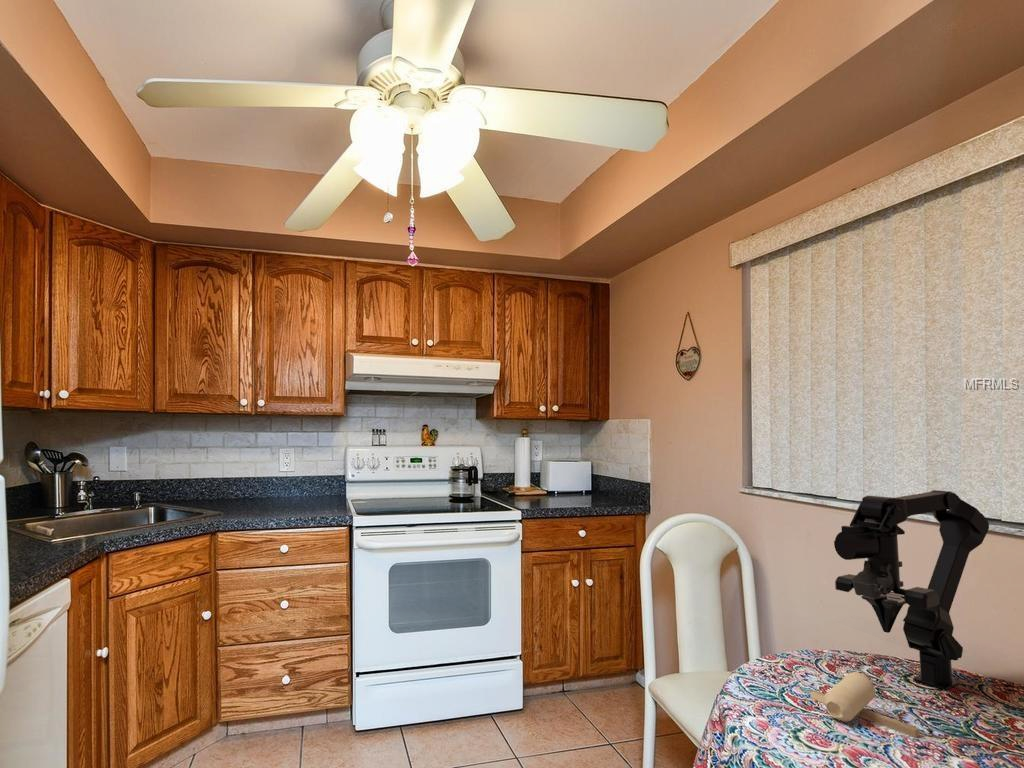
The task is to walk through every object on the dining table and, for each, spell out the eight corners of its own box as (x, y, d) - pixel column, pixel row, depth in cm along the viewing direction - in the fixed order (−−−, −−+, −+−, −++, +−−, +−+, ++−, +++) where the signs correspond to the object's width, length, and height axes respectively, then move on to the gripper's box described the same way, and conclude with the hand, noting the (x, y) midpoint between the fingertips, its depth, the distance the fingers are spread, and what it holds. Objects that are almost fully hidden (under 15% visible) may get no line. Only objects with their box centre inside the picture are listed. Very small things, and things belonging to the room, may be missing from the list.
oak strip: (814, 696, 129) (814, 690, 129) (919, 735, 112) (919, 728, 112) (810, 698, 128) (810, 691, 128) (915, 737, 111) (915, 730, 111)
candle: (879, 685, 119) (852, 711, 114) (871, 705, 121) (844, 732, 116) (851, 665, 123) (823, 689, 118) (844, 685, 125) (816, 710, 120)
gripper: (818, 553, 137) (822, 627, 136) (910, 568, 121) (914, 652, 120) (847, 548, 143) (851, 618, 141) (938, 562, 127) (943, 641, 126)
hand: (886, 632), depth 132 cm, fingers closed
